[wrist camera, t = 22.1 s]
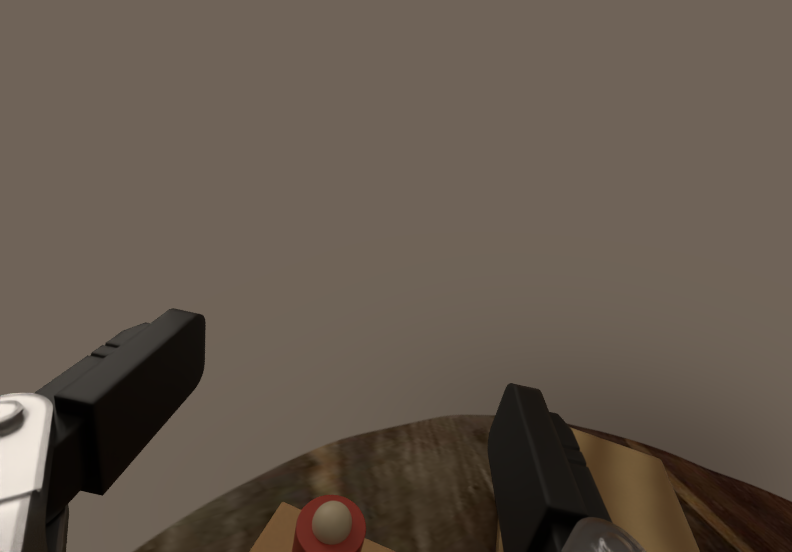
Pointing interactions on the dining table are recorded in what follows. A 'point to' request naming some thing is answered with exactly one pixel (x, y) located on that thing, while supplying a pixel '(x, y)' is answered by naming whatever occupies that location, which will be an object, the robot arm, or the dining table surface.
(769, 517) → the dining table surface
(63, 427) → the robot arm
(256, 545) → the cork mat
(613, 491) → the shelf
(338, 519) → the toy figure
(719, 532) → the dining table surface
